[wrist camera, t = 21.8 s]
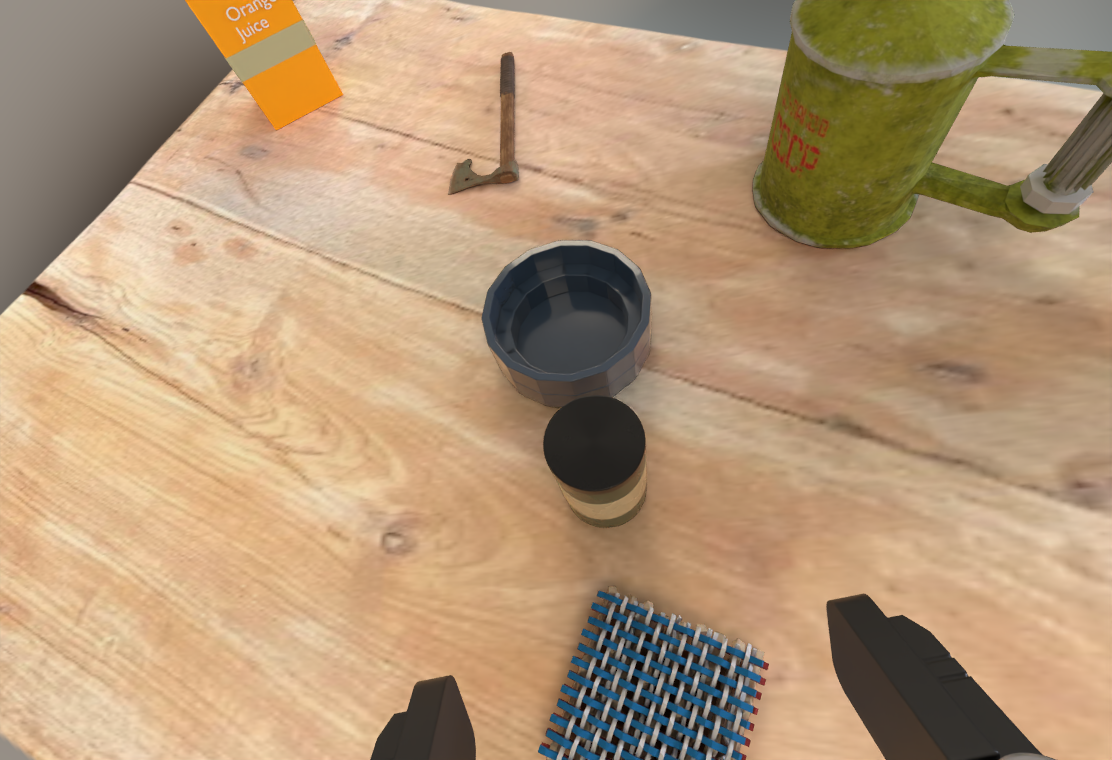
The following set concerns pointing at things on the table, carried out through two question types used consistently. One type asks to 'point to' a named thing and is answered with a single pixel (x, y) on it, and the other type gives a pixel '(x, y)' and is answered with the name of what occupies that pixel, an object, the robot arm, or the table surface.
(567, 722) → the woven mat
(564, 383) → the slate bowl
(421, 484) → the table surface
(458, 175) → the tomahawk
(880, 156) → the blowtorch
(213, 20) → the orange juice
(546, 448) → the green tin
